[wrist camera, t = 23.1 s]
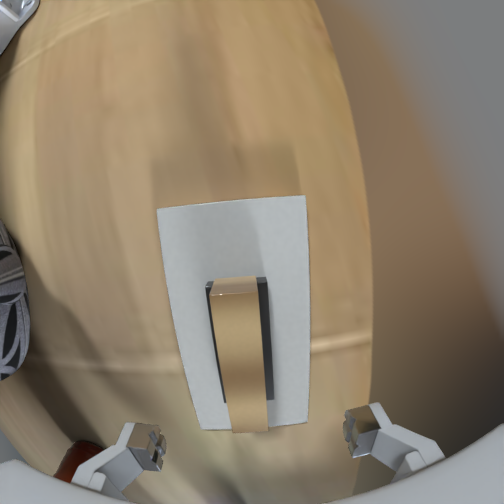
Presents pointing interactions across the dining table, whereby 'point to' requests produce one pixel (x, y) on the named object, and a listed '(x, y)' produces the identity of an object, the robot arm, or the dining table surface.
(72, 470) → the mug
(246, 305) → the brush
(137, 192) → the dining table surface
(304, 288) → the tile
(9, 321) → the teapot
